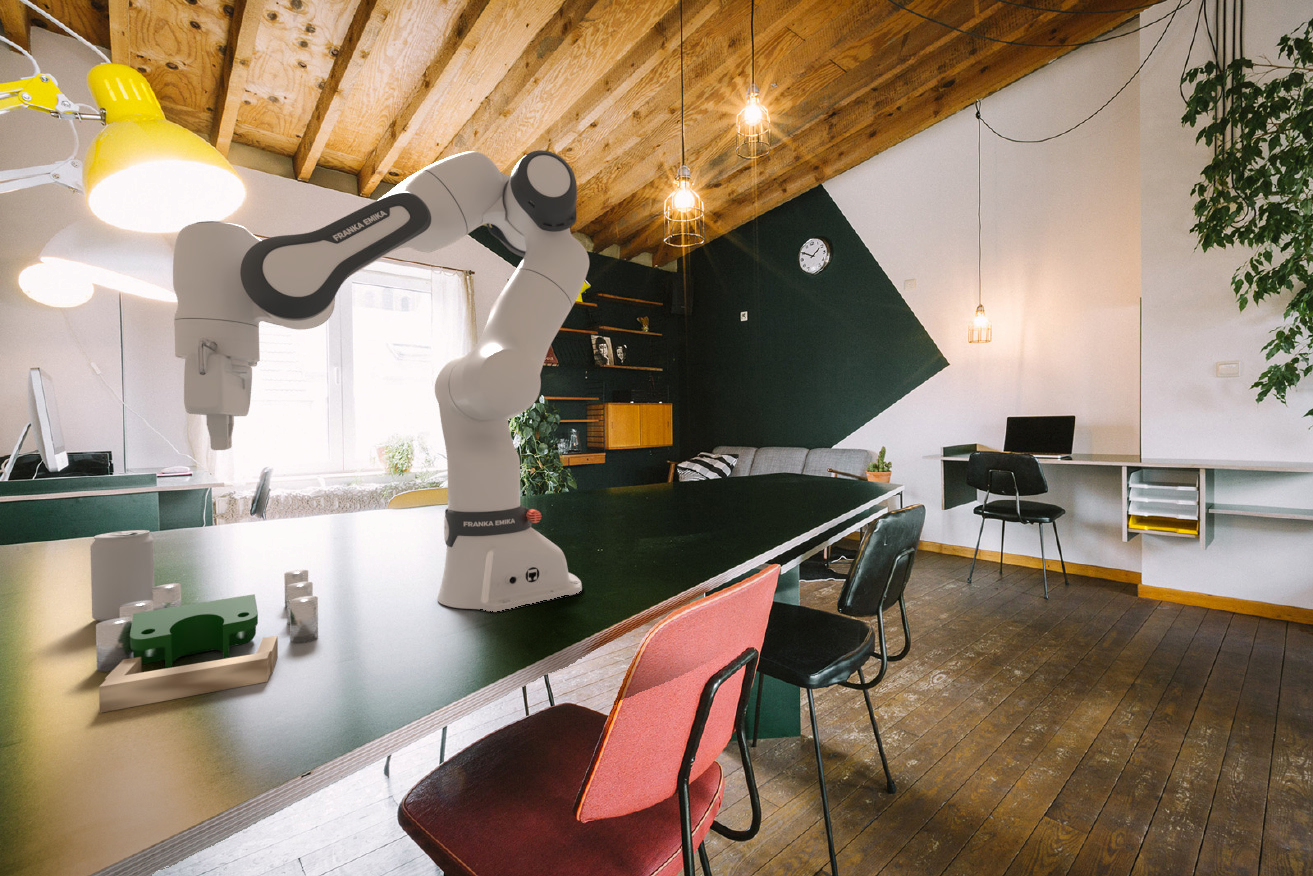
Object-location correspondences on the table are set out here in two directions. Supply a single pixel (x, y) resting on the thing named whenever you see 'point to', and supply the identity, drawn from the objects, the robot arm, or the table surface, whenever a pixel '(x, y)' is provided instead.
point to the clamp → (193, 629)
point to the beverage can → (120, 571)
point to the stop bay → (184, 678)
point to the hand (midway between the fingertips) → (221, 449)
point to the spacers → (117, 631)
